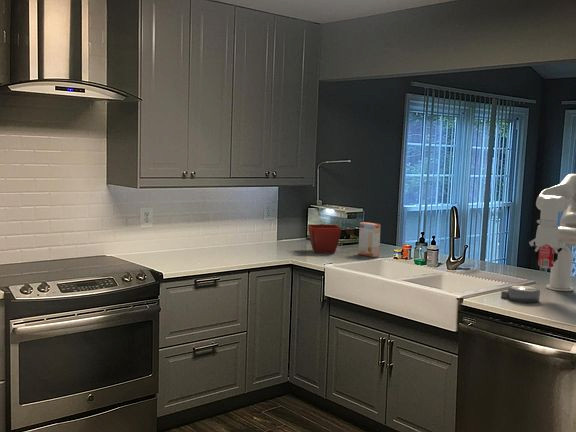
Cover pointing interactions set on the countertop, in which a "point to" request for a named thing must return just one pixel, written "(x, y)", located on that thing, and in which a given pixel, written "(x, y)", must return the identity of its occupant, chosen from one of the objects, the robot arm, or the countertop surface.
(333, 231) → the plant pot
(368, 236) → the cracker box
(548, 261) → the soda can
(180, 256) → the countertop surface
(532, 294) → the motor housing
